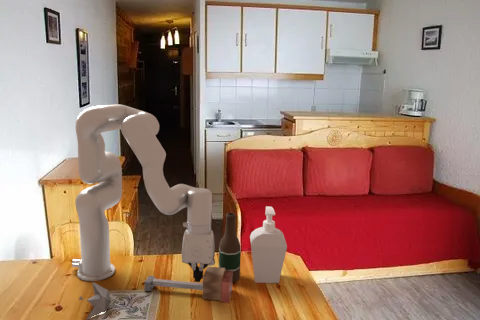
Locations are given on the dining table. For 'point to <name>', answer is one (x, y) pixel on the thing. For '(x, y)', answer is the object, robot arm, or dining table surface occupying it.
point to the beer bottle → (230, 248)
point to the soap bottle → (268, 250)
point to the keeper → (213, 283)
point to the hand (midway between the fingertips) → (198, 280)
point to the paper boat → (98, 300)
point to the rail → (192, 285)
